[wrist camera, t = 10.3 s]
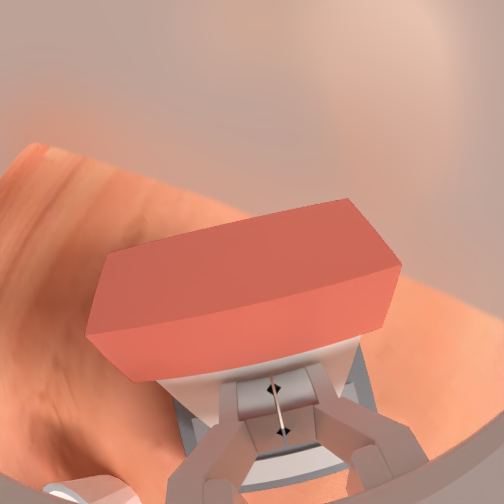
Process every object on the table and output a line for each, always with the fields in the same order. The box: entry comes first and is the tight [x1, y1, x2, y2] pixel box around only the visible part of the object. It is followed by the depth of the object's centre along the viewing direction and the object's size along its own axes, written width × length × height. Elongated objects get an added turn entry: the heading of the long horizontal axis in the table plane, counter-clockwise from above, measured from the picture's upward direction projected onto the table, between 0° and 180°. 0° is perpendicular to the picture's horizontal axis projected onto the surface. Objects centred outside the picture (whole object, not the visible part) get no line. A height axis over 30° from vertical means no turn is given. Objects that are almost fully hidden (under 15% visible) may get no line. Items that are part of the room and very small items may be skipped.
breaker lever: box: [84, 198, 402, 429], centre depth 10 cm, size 3×6×13 cm, turn 102°
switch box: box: [172, 344, 377, 493], centre depth 15 cm, size 10×12×8 cm
